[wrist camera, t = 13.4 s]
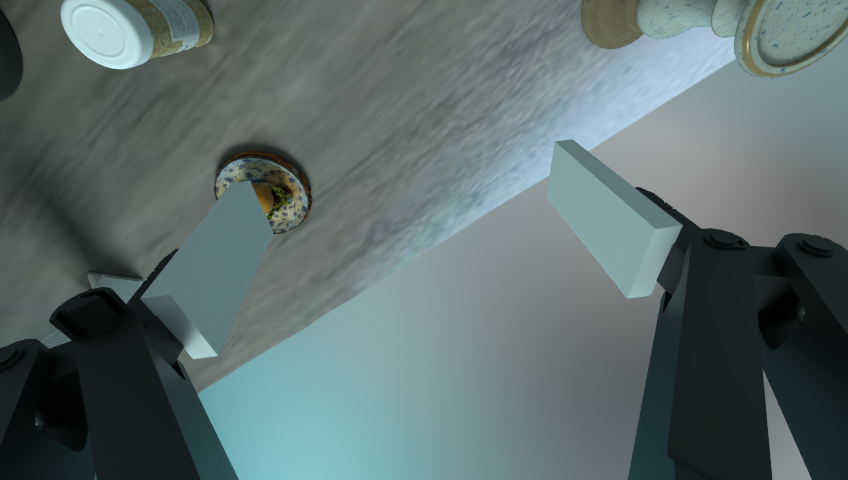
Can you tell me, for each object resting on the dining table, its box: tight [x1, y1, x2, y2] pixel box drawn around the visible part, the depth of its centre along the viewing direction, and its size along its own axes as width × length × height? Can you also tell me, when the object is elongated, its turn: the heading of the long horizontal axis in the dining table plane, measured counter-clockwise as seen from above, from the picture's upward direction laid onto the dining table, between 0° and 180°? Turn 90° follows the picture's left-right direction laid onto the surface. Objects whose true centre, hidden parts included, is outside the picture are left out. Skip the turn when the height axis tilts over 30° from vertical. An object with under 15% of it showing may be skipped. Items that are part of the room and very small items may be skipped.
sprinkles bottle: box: [61, 0, 214, 69], centre depth 28 cm, size 5×5×14 cm
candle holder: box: [581, 0, 848, 78], centre depth 28 cm, size 9×9×20 cm
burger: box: [214, 151, 312, 234], centre depth 42 cm, size 12×12×8 cm
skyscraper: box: [36, 272, 144, 425], centre depth 41 cm, size 8×8×28 cm
